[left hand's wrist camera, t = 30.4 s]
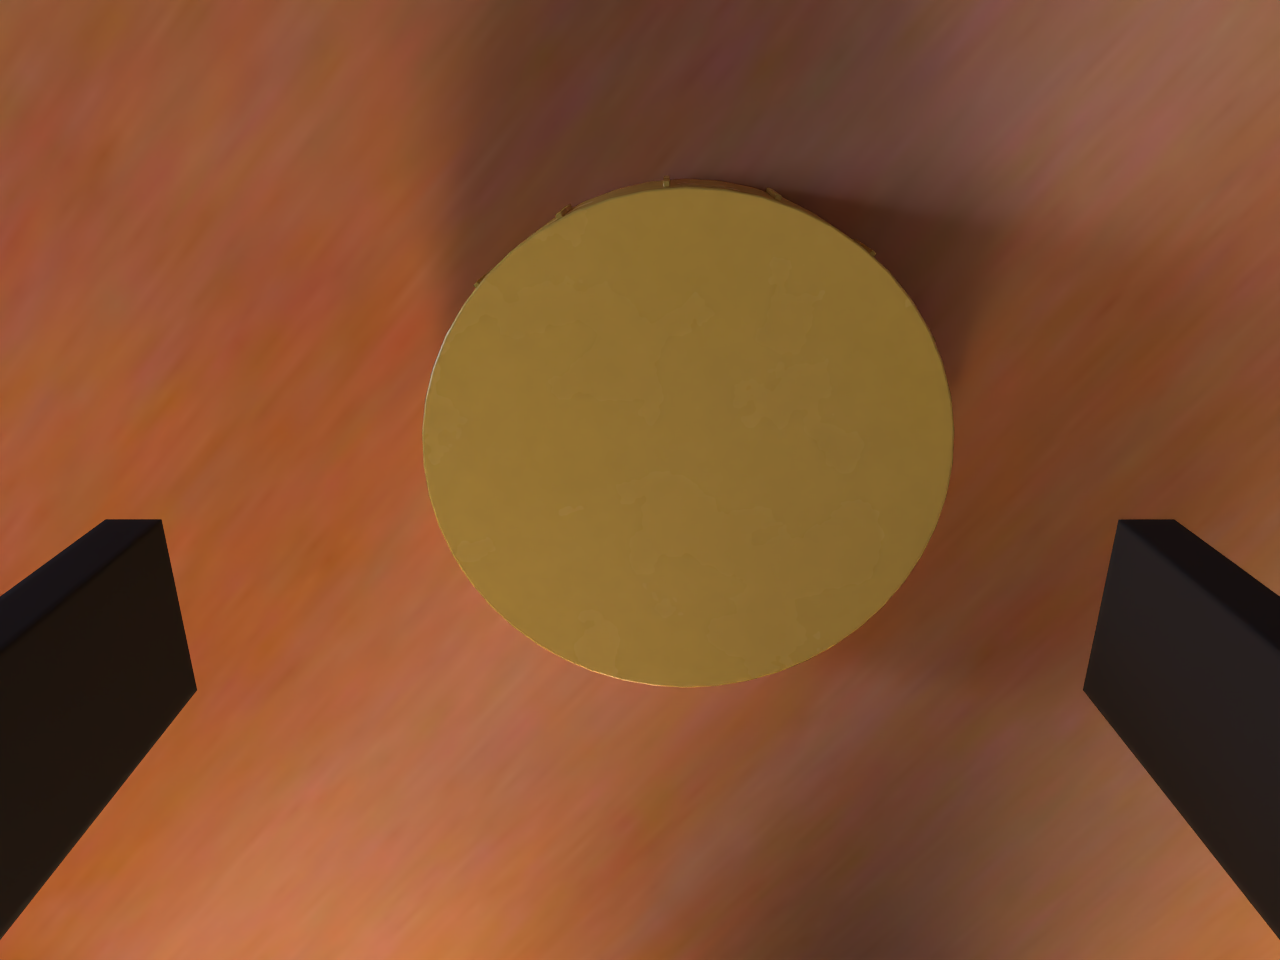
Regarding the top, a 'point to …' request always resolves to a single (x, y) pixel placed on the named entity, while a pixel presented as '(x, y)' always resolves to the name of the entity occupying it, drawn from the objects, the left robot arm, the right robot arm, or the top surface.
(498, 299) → the lid
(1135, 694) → the left robot arm
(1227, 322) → the top surface
